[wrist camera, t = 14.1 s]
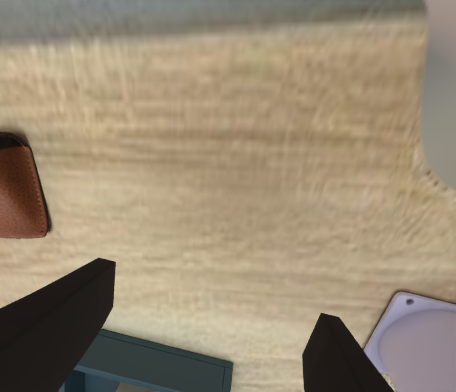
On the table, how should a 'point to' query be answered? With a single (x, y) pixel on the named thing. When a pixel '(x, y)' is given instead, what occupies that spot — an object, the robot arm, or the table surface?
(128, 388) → the cosmetic box
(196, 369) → the tray
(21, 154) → the sunglasses case
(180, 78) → the table surface
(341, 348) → the robot arm
